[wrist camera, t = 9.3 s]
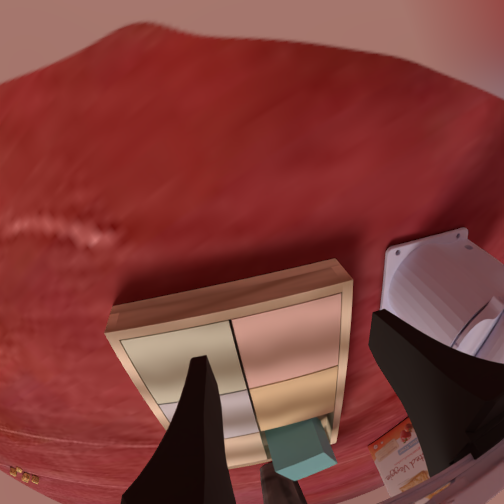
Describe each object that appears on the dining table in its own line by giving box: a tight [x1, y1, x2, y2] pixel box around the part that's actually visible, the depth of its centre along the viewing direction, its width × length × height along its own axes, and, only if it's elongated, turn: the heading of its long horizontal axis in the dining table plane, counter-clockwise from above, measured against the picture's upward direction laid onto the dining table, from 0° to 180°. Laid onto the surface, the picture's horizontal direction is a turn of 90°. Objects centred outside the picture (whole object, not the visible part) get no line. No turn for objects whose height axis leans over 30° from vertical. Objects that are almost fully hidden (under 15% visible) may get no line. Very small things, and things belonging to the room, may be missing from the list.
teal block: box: [264, 417, 338, 481], centre depth 27 cm, size 5×5×6 cm
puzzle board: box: [105, 258, 353, 469], centre depth 26 cm, size 24×16×3 cm
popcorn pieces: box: [10, 467, 39, 484], centre depth 33 cm, size 5×5×2 cm
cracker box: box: [368, 417, 451, 504], centre depth 31 cm, size 14×6×21 cm, turn 139°
